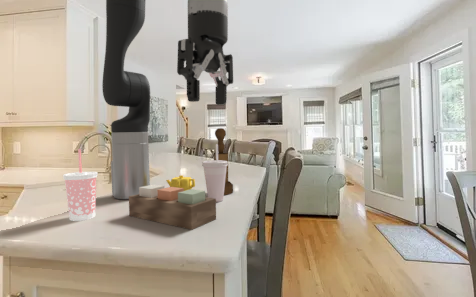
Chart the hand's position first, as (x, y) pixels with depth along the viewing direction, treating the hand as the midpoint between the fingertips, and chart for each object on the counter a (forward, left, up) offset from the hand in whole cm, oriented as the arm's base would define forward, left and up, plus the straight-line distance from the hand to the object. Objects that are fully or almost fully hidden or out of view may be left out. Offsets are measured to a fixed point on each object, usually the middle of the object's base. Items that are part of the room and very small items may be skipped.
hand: (208, 103), depth 55 cm
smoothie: (-8, +12, -23) cm, 27 cm away
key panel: (-7, -4, -23) cm, 24 cm away
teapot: (-21, +13, -23) cm, 34 cm away
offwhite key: (-13, -4, -20) cm, 24 cm away
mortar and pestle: (-12, +20, -23) cm, 33 cm away
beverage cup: (-23, -13, -23) cm, 35 cm away
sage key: (-2, -4, -20) cm, 20 cm away
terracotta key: (-7, -4, -20) cm, 21 cm away
